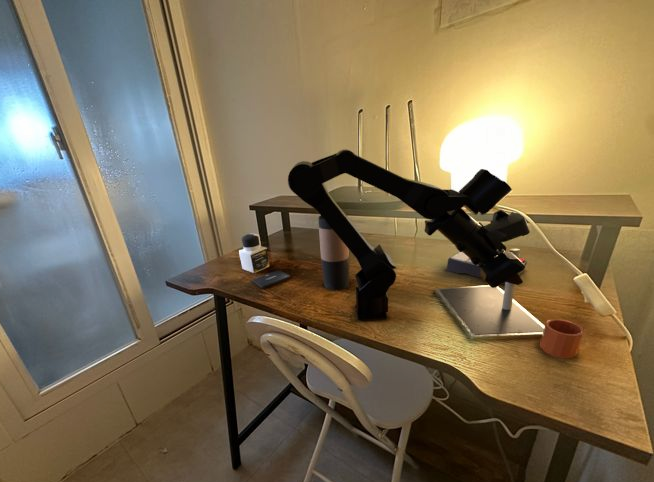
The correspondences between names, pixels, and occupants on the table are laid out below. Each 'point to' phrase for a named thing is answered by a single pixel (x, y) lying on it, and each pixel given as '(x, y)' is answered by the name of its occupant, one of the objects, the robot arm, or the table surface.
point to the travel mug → (333, 257)
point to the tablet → (488, 313)
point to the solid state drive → (271, 279)
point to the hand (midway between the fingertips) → (518, 281)
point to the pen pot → (561, 338)
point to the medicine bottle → (253, 254)
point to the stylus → (509, 287)
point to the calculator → (468, 265)
